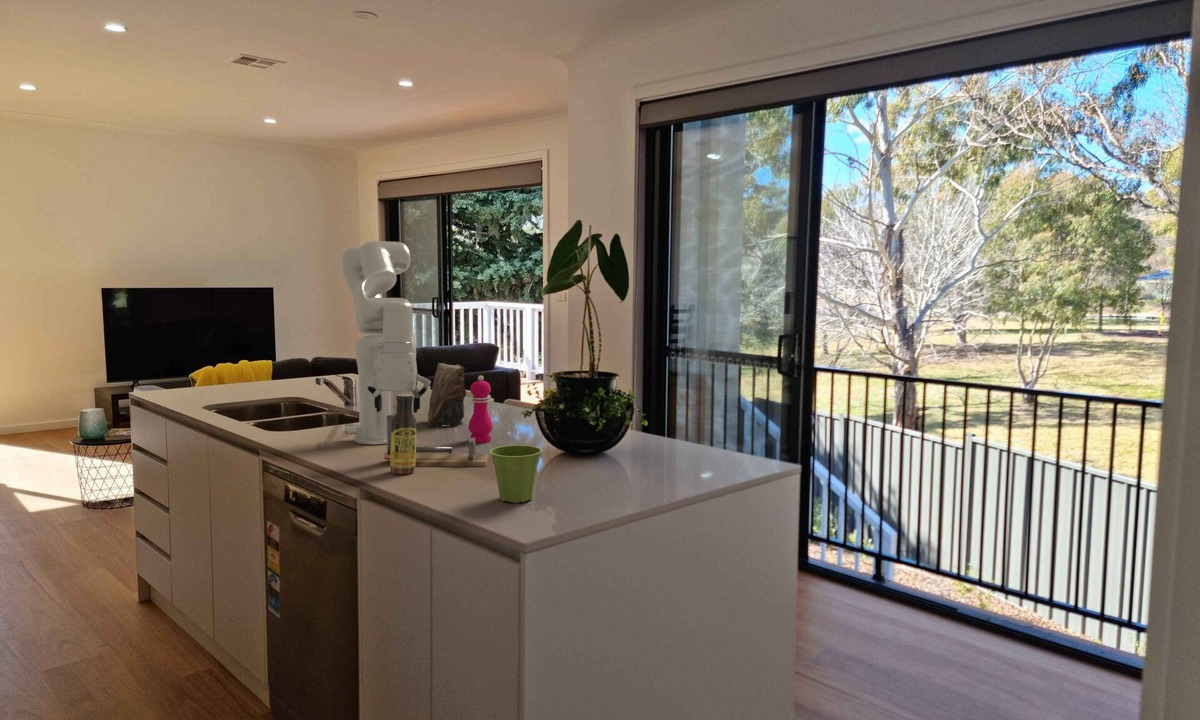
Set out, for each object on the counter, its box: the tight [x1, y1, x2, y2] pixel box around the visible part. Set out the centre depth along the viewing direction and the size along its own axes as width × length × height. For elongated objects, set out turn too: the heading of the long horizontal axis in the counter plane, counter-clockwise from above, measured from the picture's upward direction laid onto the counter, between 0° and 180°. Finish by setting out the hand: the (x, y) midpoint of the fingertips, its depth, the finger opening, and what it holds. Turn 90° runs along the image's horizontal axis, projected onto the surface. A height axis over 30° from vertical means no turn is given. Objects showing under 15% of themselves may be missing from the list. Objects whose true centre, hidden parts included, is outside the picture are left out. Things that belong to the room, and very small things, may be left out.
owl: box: [427, 362, 467, 427], centre depth 263 cm, size 13×13×20 cm
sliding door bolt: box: [383, 413, 453, 461], centre depth 209 cm, size 18×6×11 cm, turn 94°
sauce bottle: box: [389, 393, 417, 476], centre depth 197 cm, size 7×6×20 cm
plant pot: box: [488, 444, 543, 504], centre depth 176 cm, size 12×12×11 cm
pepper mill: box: [468, 375, 493, 444], centre depth 236 cm, size 7×7×20 cm
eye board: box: [415, 438, 489, 467], centre depth 210 cm, size 22×9×6 cm, turn 94°
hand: (397, 411), depth 209 cm, fingers open, 9 cm apart
